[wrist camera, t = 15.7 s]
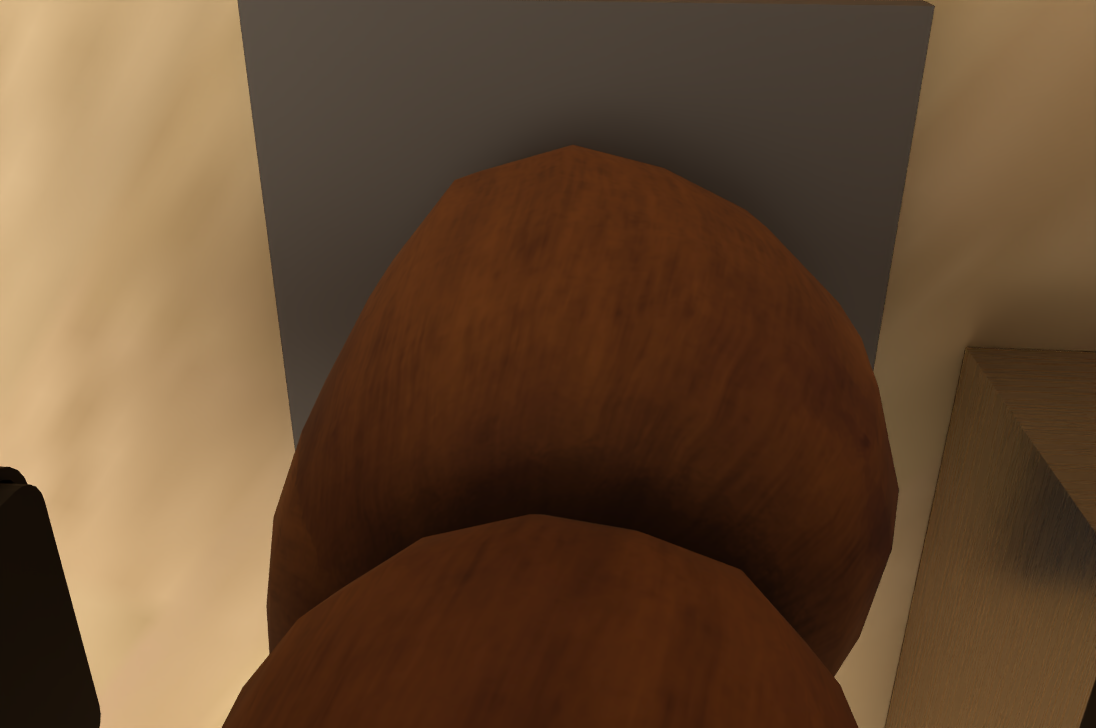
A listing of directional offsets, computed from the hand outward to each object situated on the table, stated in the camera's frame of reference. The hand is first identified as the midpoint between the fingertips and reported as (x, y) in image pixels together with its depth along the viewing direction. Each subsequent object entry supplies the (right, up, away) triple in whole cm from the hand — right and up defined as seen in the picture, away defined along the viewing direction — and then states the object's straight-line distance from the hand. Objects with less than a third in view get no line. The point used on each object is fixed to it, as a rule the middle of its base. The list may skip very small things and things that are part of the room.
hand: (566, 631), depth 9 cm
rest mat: (0, +3, +7) cm, 7 cm away
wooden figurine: (0, +3, +6) cm, 7 cm away
